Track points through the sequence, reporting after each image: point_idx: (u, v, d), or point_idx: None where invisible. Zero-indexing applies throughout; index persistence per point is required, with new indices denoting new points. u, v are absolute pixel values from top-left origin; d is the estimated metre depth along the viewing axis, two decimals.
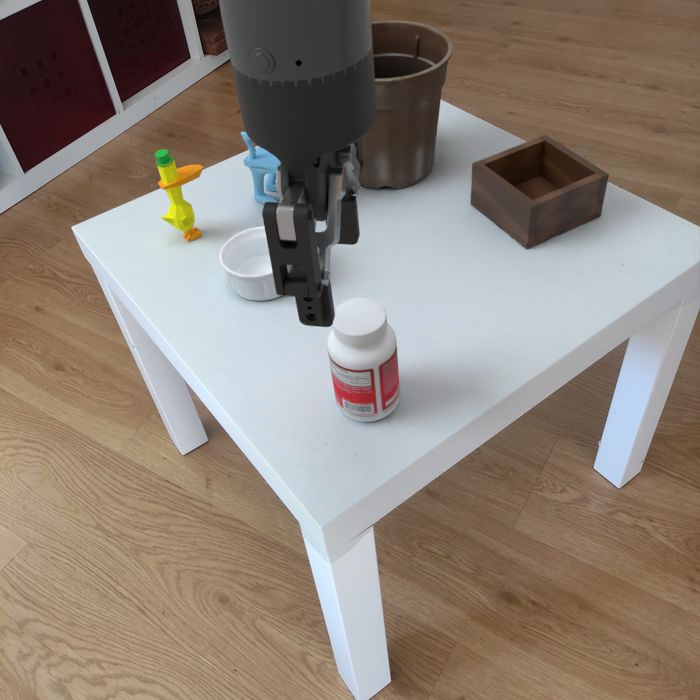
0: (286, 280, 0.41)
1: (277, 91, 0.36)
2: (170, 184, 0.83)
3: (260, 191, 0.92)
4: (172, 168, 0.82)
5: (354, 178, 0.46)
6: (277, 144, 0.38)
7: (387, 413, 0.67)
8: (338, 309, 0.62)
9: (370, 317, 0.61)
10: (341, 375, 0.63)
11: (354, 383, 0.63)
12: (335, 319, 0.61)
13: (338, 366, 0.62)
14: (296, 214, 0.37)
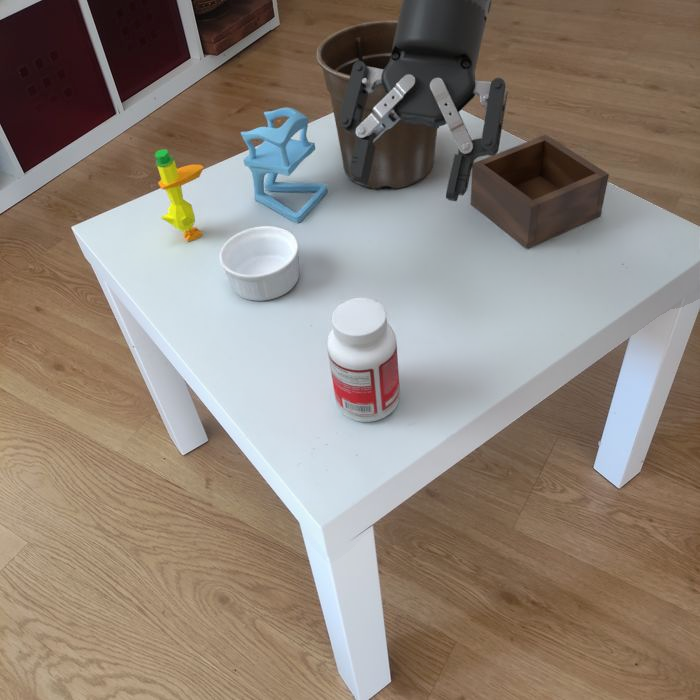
0: None
1: None
2: (170, 184, 0.83)
3: (260, 191, 0.92)
4: (172, 168, 0.82)
5: (443, 116, 0.61)
6: None
7: (387, 413, 0.67)
8: (338, 309, 0.62)
9: (370, 317, 0.61)
10: (341, 375, 0.63)
11: (354, 383, 0.63)
12: (335, 319, 0.61)
13: (338, 366, 0.62)
14: None
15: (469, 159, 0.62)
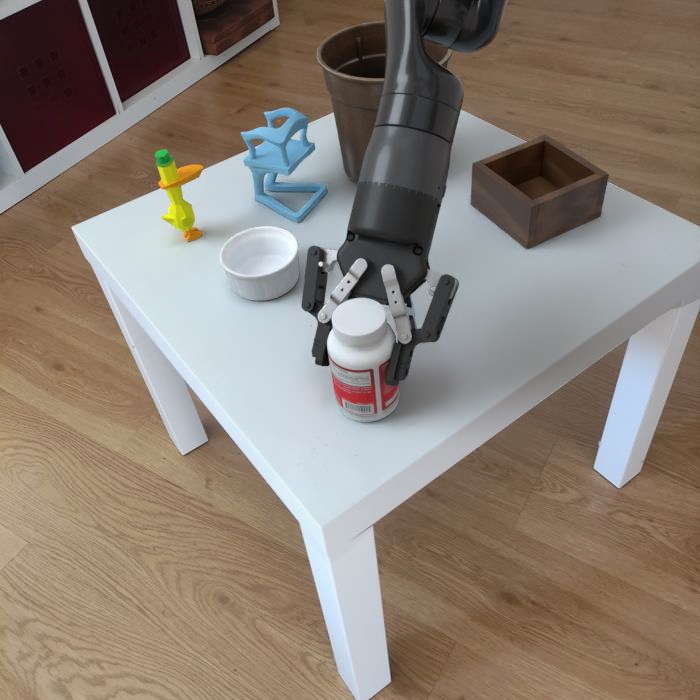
0: None
1: None
2: (170, 184, 0.83)
3: (260, 191, 0.92)
4: (172, 168, 0.82)
5: (389, 303, 0.62)
6: None
7: (387, 413, 0.67)
8: (338, 309, 0.62)
9: (370, 317, 0.61)
10: (341, 375, 0.63)
11: (354, 383, 0.63)
12: (335, 319, 0.61)
13: (338, 366, 0.62)
14: None
15: (408, 348, 0.62)
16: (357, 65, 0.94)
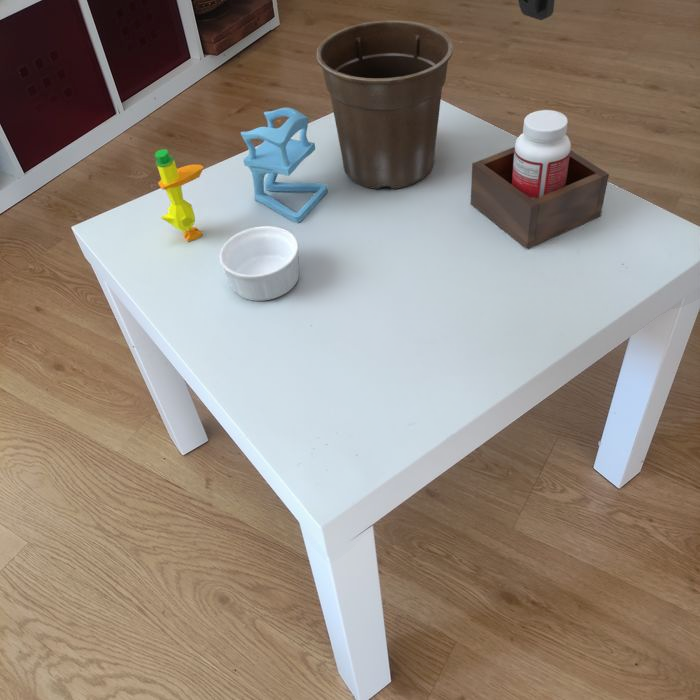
0: None
1: None
2: (170, 184, 0.83)
3: (260, 191, 0.92)
4: (172, 168, 0.82)
5: None
6: None
7: None
8: (532, 113, 0.81)
9: (553, 122, 0.79)
10: (518, 165, 0.82)
11: (525, 174, 0.82)
12: (527, 118, 0.80)
13: (518, 157, 0.81)
14: None
15: None
16: (357, 65, 0.94)
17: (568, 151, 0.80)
